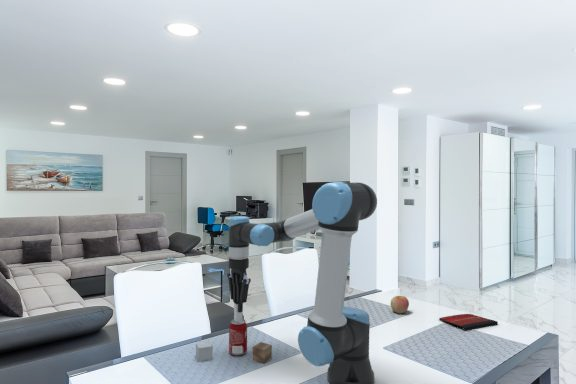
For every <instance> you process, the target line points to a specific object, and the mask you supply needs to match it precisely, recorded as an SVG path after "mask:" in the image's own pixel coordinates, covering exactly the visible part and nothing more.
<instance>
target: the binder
mask: <svg viewBox="0 0 576 384" xmlns="http://www.w3.org/2000/svg"><path fill="white" fill-rule="evenodd" d="M438 321H440V322H442V323H444V324H447V325H449V326H450V327H452V328H455V327H456V328H455V329H462V328H464V329H463V331H464V332H468V331H473V330H472V329H474V330H480V329H483V328H488V327H489V326H490V327H495V326H498V324H499V323H498V321H497V320H493V319H490V318H486V317H482V316H479V315H475V314H472V313H462V314H454V315H447V316H444V317H443V316H442V317H439V320H438ZM457 327H458V328H457ZM490 327H489V328H490ZM467 330H468V331H467Z"/></svg>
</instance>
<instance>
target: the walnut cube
mask: <svg viewBox="0 0 576 384" xmlns="http://www.w3.org/2000/svg"><path fill="white" fill-rule="evenodd" d="M272 346H273V345H272V344H269V343H266V342H262V341H259V342H258V343H256V344H255V345H253V346H252V361H254V362H257V363H261V364H265V363H266V362H269V361H270V360H271V359H272V357H273V355H272V354H273V352H272V351H273V350H272V348H273V347H272Z"/></svg>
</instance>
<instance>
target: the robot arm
mask: <svg viewBox="0 0 576 384" xmlns="http://www.w3.org/2000/svg"><path fill="white" fill-rule="evenodd" d="M311 206H312V207H311V209H309V210H307V211H304V212H301V213H298V214H296V215H294V216H291V217H288V218H286V219H284V220H281V221H274V222H263V223H253V222H252V223H251V222H250V218H249V216H240V215H239V216H238V215H237V216H236V215H235V216H231V217H230V218H229V219H228V220H229V221H228V223H229V224H228V257H229V258H228V269H230V272H229V273H227V275H226V276H227V279H228V285H229V286H228V287H229V288H228V289H229V295H230V300H232V302H233V314H234V315H233V319H234V320H235V321H239V320H242V319H243V310H244V309H243V308H244V306H243V305H244V304H245V303H247V300H248V295H249V288H250V283H251V281H252V280H251V278H249V277H248V274H247V269H248V268H249V267H250V265H249V264H250V261H249V259H250V258H249V255H250V251H249V250H250V245H255V246H258V247H269V245H271V244H275V243H281V242H290V241H293V240H294V239H296V238H298V237H301V236H303V235H306V234H309V233H313V232H315V231H318V230H320V231H321V243H320V251H319V260H318V261H319V262H318V270H317V278H316V288H315V296H314V306H313V309H312V310H311V311H310V312H309V313H308V314H307V322H306V323H307V324H306V326H304V327H303V328H302V329H300V331H299V332H298V335H297V343H298V347H299V348H298V349H299V350H300V352H301V353H302V355H303V357H304V358H305V360H306V361H307V362H308V363H309V364H311V365H313V366H316V367H323V366H326V365H329V366H328V368H327V373H326V375H327V377H326V378H327V381H328V382H329V384H375V372H374V371H373V368H372V364H371V360H370V325H371V323H370V315H369V313H368V312H367V311H365V310H364V309H361V308H358V307H352V306H345V305H344V304H345V297H346V288H347V280H348V279H347V277H348V270H349V264H350V263H349V261H350V254H351V248H352V247H351V244H352V237H353V235H354V234H356V233H358V232H359V230H358V229H359V223H360V222H359V221H363V220H367V219H368V218H370V217H371V216H372V215H373V214H374V213H375V211H376V209H377V206H378V198H377V194H376V192H375V191H374V189H373V188H372V187H371V186H369V185H368V184H365V183H364V182H349V181H347V182H345V181H334V182H327V183H325V184H323V185H321V186H320V187H319V188H318V189H317V190H316V192H315V194H314V196H313V198H312V204H311Z"/></svg>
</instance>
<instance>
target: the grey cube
mask: <svg viewBox="0 0 576 384" xmlns="http://www.w3.org/2000/svg"><path fill="white" fill-rule="evenodd" d="M213 348H214V347H213V344H212V343H211V341H210V340H207V341H200V342H195V357H196V360H197V362H199V363H201V362H205V361H211V360H213V354H214V353H213V352H214V351H213Z"/></svg>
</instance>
